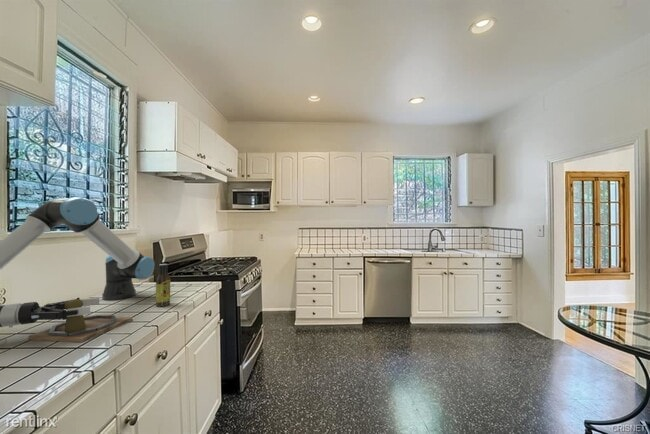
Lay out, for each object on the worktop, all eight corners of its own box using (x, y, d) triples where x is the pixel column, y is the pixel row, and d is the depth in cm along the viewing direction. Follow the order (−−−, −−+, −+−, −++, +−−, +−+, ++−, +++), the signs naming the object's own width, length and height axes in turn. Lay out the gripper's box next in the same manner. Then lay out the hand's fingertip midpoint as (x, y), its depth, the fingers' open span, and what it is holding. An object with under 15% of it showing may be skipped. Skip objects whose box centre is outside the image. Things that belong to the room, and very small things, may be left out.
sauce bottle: (165, 307, 141) (164, 265, 141) (152, 307, 142) (152, 265, 142) (173, 303, 147) (172, 263, 147) (161, 303, 148) (161, 263, 148)
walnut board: (87, 318, 127) (87, 314, 127) (132, 320, 124) (132, 316, 124) (28, 339, 105) (28, 335, 105) (81, 342, 102) (81, 338, 102)
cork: (73, 332, 106) (71, 302, 106) (60, 332, 107) (58, 302, 108) (90, 326, 112) (88, 297, 112) (77, 327, 113) (76, 298, 114)
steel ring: (86, 316, 126) (86, 314, 126) (127, 318, 122) (127, 315, 122) (35, 334, 106) (35, 331, 106) (81, 337, 103) (81, 334, 103)
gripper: (37, 314, 118) (102, 306, 127) (3, 336, 95) (85, 325, 105) (36, 295, 118) (102, 288, 127) (2, 313, 95) (85, 303, 105)
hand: (94, 305), depth 116 cm, fingers open, 13 cm apart
